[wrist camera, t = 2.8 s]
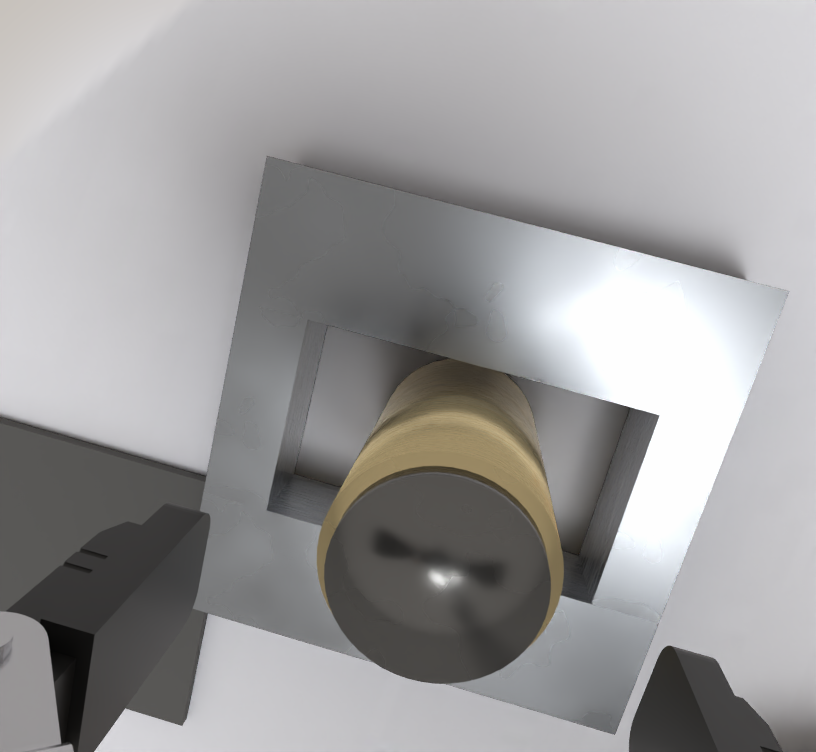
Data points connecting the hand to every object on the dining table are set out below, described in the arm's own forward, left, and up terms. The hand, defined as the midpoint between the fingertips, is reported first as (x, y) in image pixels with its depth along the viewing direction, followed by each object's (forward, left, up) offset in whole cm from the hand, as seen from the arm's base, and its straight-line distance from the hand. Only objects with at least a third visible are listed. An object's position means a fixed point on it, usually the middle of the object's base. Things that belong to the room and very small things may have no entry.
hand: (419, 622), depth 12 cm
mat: (+12, +9, -11) cm, 19 cm away
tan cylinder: (0, 0, -11) cm, 11 cm away
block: (0, 0, -11) cm, 11 cm away
